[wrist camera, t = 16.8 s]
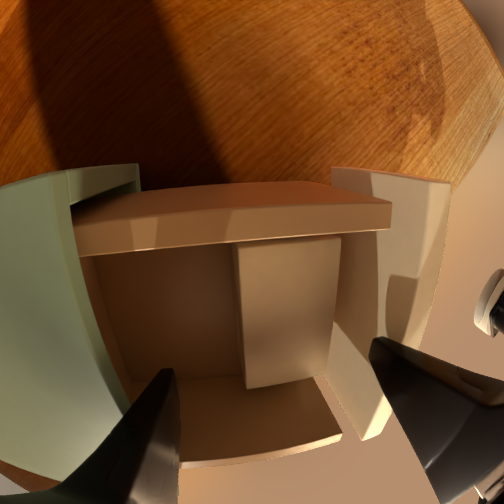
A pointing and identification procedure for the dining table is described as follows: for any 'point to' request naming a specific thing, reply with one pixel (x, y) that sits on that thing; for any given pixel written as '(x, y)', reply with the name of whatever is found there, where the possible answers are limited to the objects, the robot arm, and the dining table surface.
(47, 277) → the cabinet
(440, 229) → the drawer
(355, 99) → the dining table surface
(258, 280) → the beige rectangular block
